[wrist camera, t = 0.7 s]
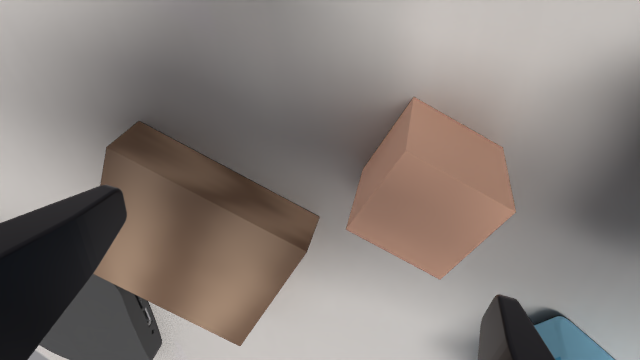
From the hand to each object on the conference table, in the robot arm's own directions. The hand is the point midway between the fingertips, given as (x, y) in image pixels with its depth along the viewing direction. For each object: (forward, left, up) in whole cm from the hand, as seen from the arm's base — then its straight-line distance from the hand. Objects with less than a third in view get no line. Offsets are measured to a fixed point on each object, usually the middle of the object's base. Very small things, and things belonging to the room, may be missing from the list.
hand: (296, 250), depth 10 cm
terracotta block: (-5, +3, -13) cm, 14 cm away
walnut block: (+4, +16, -12) cm, 21 cm away
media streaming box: (+12, +32, -13) cm, 36 cm away
